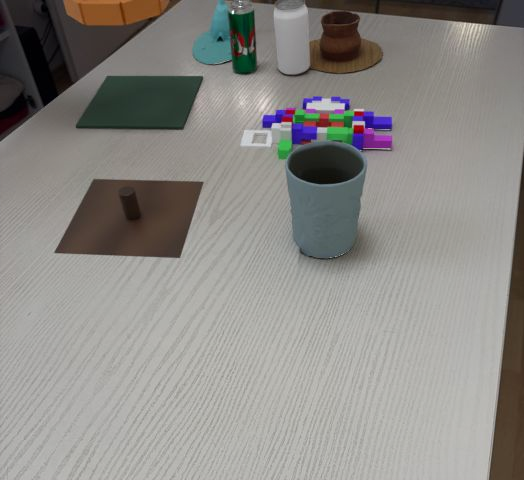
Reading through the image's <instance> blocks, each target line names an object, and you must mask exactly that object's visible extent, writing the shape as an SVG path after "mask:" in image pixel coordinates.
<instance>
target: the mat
mask: <svg viewBox="0 0 524 480" xmlns="http://www.w3.org/2000/svg"><path fill="white" fill-rule="evenodd" d="M203 80H204V76H203V75H107V76H106V77H105V79H104V80H103V81H102V83H101V85H100V86H99V88H98V89H97V91H96V92H95V94H94V96H93V97H92V99H91V101H90V102H89V104H88V105H87V107H86V108H85V110H84V111H83V113H82V114H81V115H80V117H79V119H78V121H77V122H76V123H75V125H74V127H75V128H76V129H116V130H117V129H118V130H120V129H123V130H124V129H125V130H132V129H133V130H184V128H185V125H186V122H187V120H188V118H189V115H190V113H191V111H192V107H193V106H194V102H195V100H196V98H197V95H198V93H199V90H200V87H201V85H202V83H203Z"/></svg>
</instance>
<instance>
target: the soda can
mask: <svg viewBox="0 0 524 480" xmlns="http://www.w3.org/2000/svg"><path fill="white" fill-rule="evenodd" d="M228 7H229V8H228V21H229V33H230V44H231V56H232V61H231V65H232V70H233V71H234V72H236V74H240V75H246V74H247V75H248V74H251V73H253V72H255V71H256V69H257V68H258V53H257V36H256V17H255V7H254V6H253V2H252V1H251V0H232V1H229V3H228Z"/></svg>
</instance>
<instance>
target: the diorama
mask: <svg viewBox="0 0 524 480" xmlns="http://www.w3.org/2000/svg"><path fill="white" fill-rule="evenodd" d="M228 8H229V5H228V4H227V3H226V1H225V0H217V4H216V8H215V9H214V10H215V11H214V12H213V15H212V19H211V24H210V28H209V29H208V30H207V31H205V32H203V33H202V34H200V35H199V36H198V37H197V38H196V39H195V41H194V42H193V45H192V49H191V50H192V52H191V53H192V56H193V57H194V59H195V60H196V59H197V60H196V61H197V62H199V63H201V62H202V63H201V64H204V63H205V64H204V65H208V64H209V63H210V64H215V63H220V62H223V61H227V60H232V56H231V44H230V33H229V21H228Z"/></svg>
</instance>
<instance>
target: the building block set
mask: <svg viewBox="0 0 524 480" xmlns="http://www.w3.org/2000/svg"><path fill="white" fill-rule="evenodd" d="M350 103H351V102H350V98H341V96H331V97H330V98H323V96H321V95H320V96H319V95H316V96H312V98H311V97H309V98H308V97H307V98H306V97H303V99H302V109H297V107H286V108H285V109H276V110H275V114H263V116H262V121H261V125H262V126H261V127H262V128H270V129H271V130H269V129H267V130H266V129H265V130H264V129H263V130H262V129H244V131H243V134H242V138H241V141H240V144H239V148H240V149H263V150H264V149H265V150H266V149H267V150H271V149H272V146H273V144H278V145H277V156H278V160H286V159H287V157H288V155H289V154H290V153H291V152H292V151H293V150H292V149H293V145H305V144H308V143H313V142H319V141H336V142H341V143H346V144H349V145H352V146H354V147H355V148H357V149H358V150H362V147H363V148H391V149H392V148H393V147H392V146H393V135H390V134H384V135H383V134H375V130H374V129H391V130H392V127H393V116H375V111H373V110H371V111H368V110H365V108H354V109H353V110H350ZM368 128H372V129H368ZM255 136H262V137H264V136H265V137H266V141H265V143H262V142H261V143H259V142H258V143H257V142H254V138H255ZM362 151H363V150H362Z"/></svg>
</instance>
